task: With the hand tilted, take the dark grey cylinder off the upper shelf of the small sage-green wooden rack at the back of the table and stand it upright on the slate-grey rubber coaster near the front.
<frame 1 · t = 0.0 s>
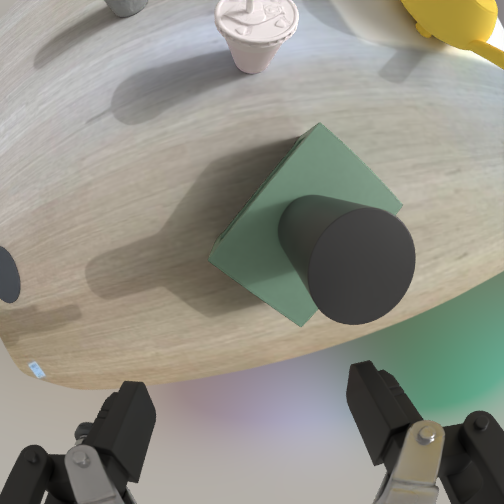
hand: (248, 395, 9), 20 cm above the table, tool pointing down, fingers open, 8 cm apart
coaster: (2, 274, 28), on the table
dark grey cylinder: (313, 230, 21), point 7 cm above the table, touching rack
planter: (131, 5, 21), on the table
smoothie: (252, 60, 24), on the table
teapot: (434, 25, 22), on the table
rack: (296, 218, 28), on the table
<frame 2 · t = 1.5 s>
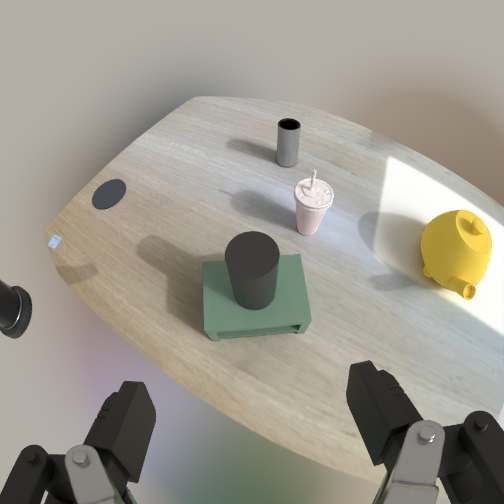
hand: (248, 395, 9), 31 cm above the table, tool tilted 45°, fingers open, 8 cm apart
coaster: (109, 194, 57), on the table
dark grey cylinder: (254, 290, 37), point 7 cm above the table, touching rack
planter: (286, 161, 60), on the table
smoothie: (306, 227, 51), on the table
teapot: (441, 273, 45), on the table
rack: (255, 307, 43), on the table
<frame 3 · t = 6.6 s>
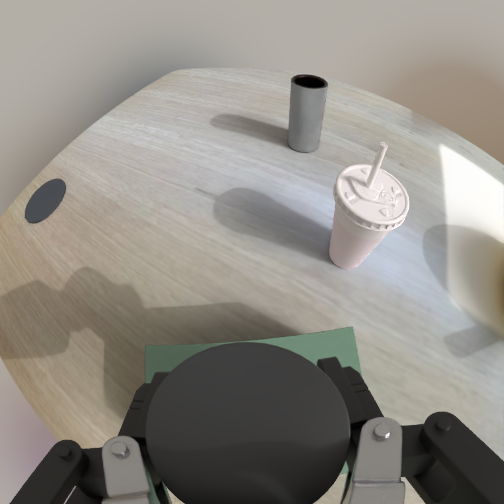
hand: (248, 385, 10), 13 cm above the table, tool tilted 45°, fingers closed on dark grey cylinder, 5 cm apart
coaster: (44, 200, 35), on the table
dark grey cylinder: (255, 416, 15), point 7 cm above the table, touching gripper, rack
planter: (303, 144, 37), on the table
smoothie: (345, 254, 28), on the table
rack: (257, 411, 21), on the table
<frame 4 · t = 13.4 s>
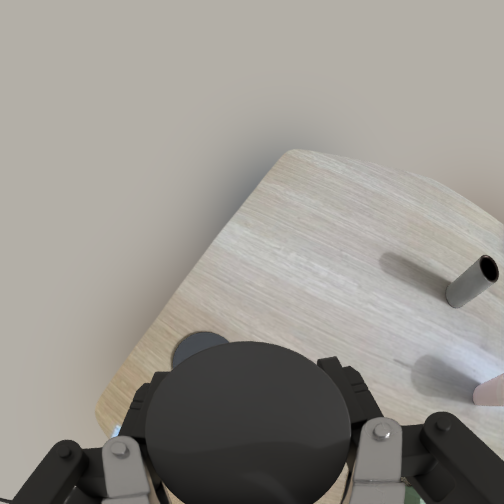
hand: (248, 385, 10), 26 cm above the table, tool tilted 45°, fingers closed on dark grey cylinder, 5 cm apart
coaster: (205, 364, 35), on the table
dark grey cylinder: (255, 416, 14), point 20 cm above the table, touching gripper
planter: (454, 296, 37), on the table
smoothie: (479, 395, 28), on the table
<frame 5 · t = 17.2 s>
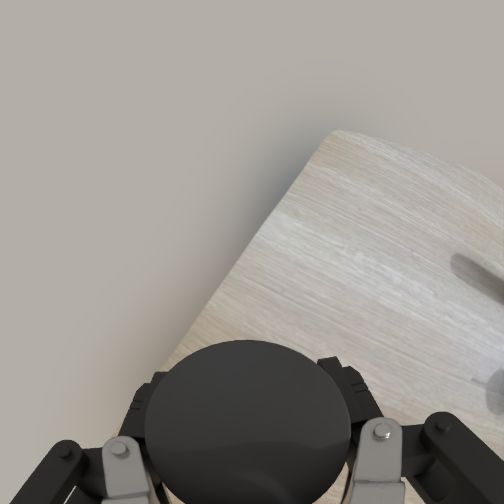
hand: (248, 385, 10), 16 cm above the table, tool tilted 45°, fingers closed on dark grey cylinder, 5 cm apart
dark grey cylinder: (255, 415, 14), point 10 cm above the table, touching gripper
when the fingers open (7 cm above the table, at t = 20.4 s): dark grey cylinder stays where it is, resting on coaster.
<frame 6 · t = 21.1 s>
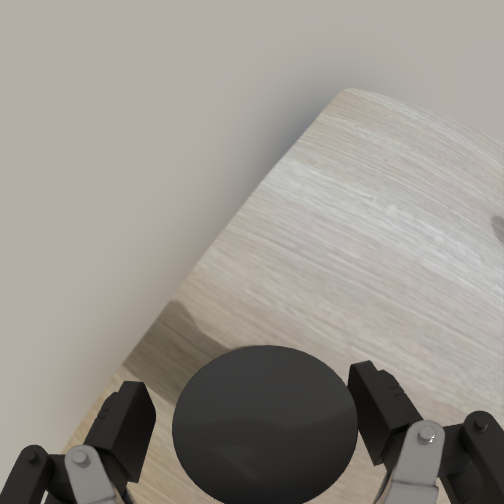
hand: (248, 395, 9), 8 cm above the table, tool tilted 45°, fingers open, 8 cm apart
dark grey cylinder: (264, 414, 15), resting on coaster
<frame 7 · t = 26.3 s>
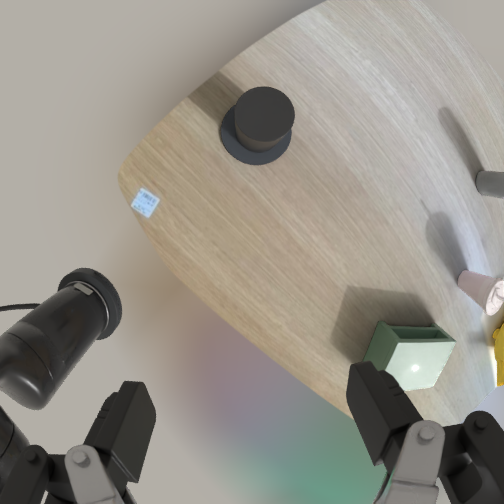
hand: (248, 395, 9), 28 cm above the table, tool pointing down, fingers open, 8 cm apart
coaster: (256, 131, 33), on the table
dark grey cylinder: (258, 131, 33), resting on coaster
planter: (481, 182, 36), on the table
smoothie: (463, 279, 40), on the table
teapot: (499, 335, 45), on the table
rack: (399, 346, 43), on the table
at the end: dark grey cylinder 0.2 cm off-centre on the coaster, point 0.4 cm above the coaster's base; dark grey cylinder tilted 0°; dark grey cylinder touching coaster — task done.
